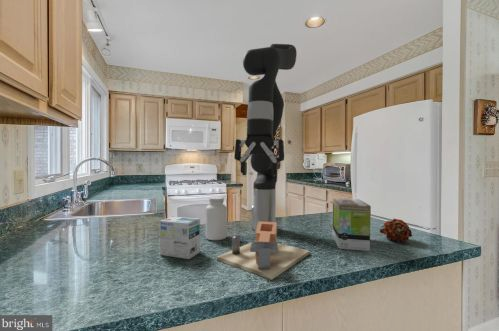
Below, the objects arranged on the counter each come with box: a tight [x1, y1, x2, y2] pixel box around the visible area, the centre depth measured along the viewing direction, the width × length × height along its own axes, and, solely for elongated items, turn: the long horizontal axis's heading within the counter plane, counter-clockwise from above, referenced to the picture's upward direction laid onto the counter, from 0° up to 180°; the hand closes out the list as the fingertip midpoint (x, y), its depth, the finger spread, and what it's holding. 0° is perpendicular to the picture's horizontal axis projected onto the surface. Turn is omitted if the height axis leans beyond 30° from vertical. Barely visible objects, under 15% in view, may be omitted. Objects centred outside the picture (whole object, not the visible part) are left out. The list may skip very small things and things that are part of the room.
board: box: [216, 241, 311, 281], centre depth 73 cm, size 19×21×1 cm
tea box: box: [332, 198, 372, 252], centre depth 85 cm, size 15×10×15 cm, turn 168°
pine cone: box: [379, 218, 413, 244], centre depth 88 cm, size 8×8×12 cm
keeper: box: [250, 240, 279, 270], centre depth 65 cm, size 5×7×5 cm
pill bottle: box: [205, 196, 228, 241], centre depth 91 cm, size 8×8×15 cm
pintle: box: [231, 234, 241, 255], centre depth 73 cm, size 2×2×5 cm
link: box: [254, 221, 278, 264], centre depth 72 cm, size 15×6×3 cm, turn 168°
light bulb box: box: [159, 216, 202, 260], centre depth 76 cm, size 11×7×11 cm, turn 71°
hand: (258, 175), depth 70 cm, fingers open, 8 cm apart
